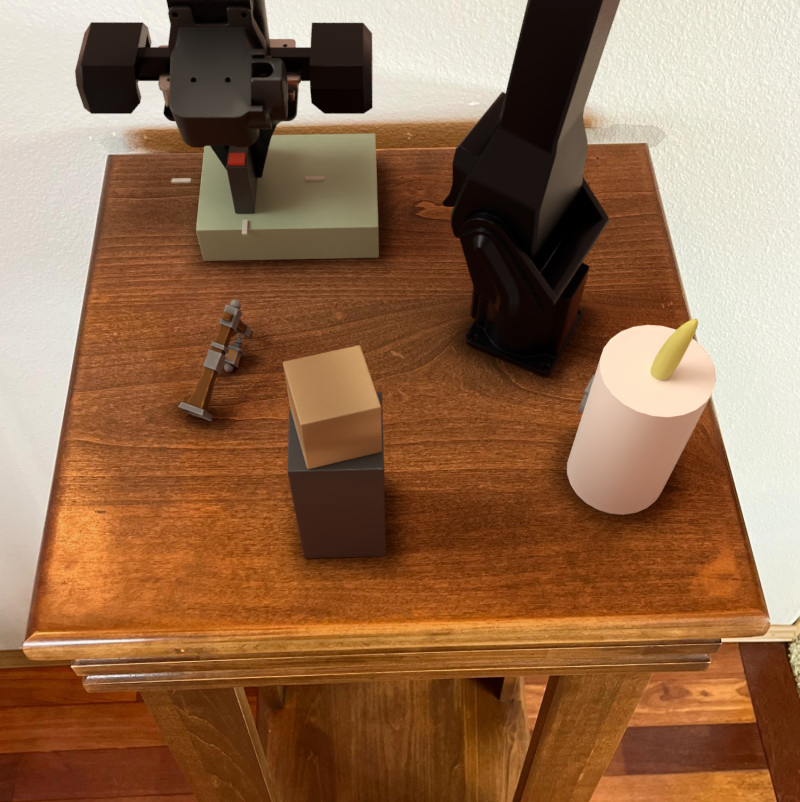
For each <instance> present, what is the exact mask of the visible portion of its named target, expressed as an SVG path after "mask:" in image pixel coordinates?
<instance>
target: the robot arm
mask: <svg viewBox="0 0 800 802" xmlns="http://www.w3.org/2000/svg"><path fill="white" fill-rule="evenodd" d="M620 3H621V0H527V1H526V6H525V10H524V14H523V19H522V23H521V26H520V27H521V28H520V31H519V35H518V40H517V44H516V48H515V52H514V56H513V61H512V65H511V69H510V73H509V77H508V82H507V85H506V90H505V92H504V91H501V92H500V94H499V95H498V96H497V97H496V99H495V100H494V101H493V102H492V104H491V105H489V107H488V109H486V111H485V112H484V113H483V114H482V116H481V117H480V118H479V120H478V121H477V122H476V123H475V124H474V125H473V127H472V128H471V129H470V130H469V132H468V133H467V134H466V136H465V137H464V138H462V140H461V142H460V143H459V144H458V145H457V146H456V147H455V151H454V155H453V160H452V179H451V180H452V182H451V188H450V190H449V193H448V195H447V196H446V197H445V198H444V200H443V201H442V203H441V204H442V206H443V207H444V208H452V209H451V212H450V227H451V231H452V234H453V236H454V238H456V239H459V241H460V245H461V249H462V253H463V254H464V259H465V263H466V266H467V269H468V274H469V276H470V280H471V283H472V294H471V303H470V312H469V315H470V317H471V319H473V320H474V322H473V324H472V325H471V326H470V328H469V330H468V331H467V333H466V334H465V336H464V343H465V344H466V345H467V346H469V347H471V348H473V349H476V350H479V351H481V352H483V353H486V354H487V355H491V356H493V357H495V358H498V359H500V360H501V361H504V362H506V363H509V364H511V365H515V366H517V367H518V368H519V367H520V368H522V369H524V370H527V371H529V372H532V373H534V374H536V375H539V376H541V377H548V376H550V375H551V374H552V373H553V371H554V369H555V367H556V366H557V364H558V362H559V360H560V358H561V357H562V355H563V353H564V351H565V350H566V348H567V346H568V345H569V342H570V341H571V339H572V337H573V335H574V334H575V332H576V330H577V329H578V327H579V325H580V324H581V322H582V319H583V316H584V310H583V309H581V308H580V305H581V302H582V298H583V294H584V291H585V287H586V283H587V279H588V275H589V271H590V268H591V267H590V265H589V264H587V263H585V262H584V261H585V259H586V257H588V255H589V253H590V251H591V250H592V248H593V247H594V246H595V244H596V242H597V241H598V239H599V238H600V236H601V235H602V233H603V232H604V230H605V229H606V227H607V226H608V224H609V222H610V217H609V216H608V214H607V212H606V210H605V209H604V207H603V206H602V204H601V203H600V200H598V198H597V196H596V194H594V191H593V190H592V189H591V187H590V185H589V183H588V182H587V180H586V179H585V177H584V173H585V167H586V159H587V154H588V153H587V152H588V146H589V142H588V137H587V132H586V126H585V120H584V113H585V107H586V105H587V101H588V98H589V95H590V93H591V90H592V86H593V83H594V80H595V77H596V74H597V71H598V69H599V65H600V62H601V59H602V57H603V54H604V51H605V47H606V44H607V41H608V38H609V36H610V32H611V29H612V26H613V23H614V20H615V18H616V14H617V11H618V8H619V6H620ZM166 5H167V10H168V12H167V15H168V20H169V24H170V27H169V28H170V29H169V35H168V43H167V45H165V44H163V45H159V46H152V44H153V43H152V42H153V41H152V40H151V35H150V29H149V27H148V26H147V25H146V24H145V23H144V22H143V21H141V22H139V21H137V22H133V21H132V22H131V21H130V22H128V21H127V22H123V21H122V22H120V21H110V22H108V21H107V22H106V21H105V22H103V21H102V22H97V21H95V22H94V21H92V22H90V23H89V25H88V26H87V28H86V30H85V31H84V33H83V37H82V41H81V46H80V49H79V53H78V58H77V62H76V66H75V69H74V75H75V76H74V77H75V85H76V89H77V91H78V94H79V98H80V101H81V104H82V106H83V109H85V110H86V111H87V112H88V113H90V114H91V115H98V114H99V115H103V114H104V115H109V114H110V115H111V114H112V115H131V114H132V113H134V111H135V110H136V109H137V107H138V106H139V105H141V101H142V94H141V91H140V86H139V82H158V88H159V91H161V92H162V96H163V99H164V107H163V115H164V117H165V118H166V119H167V120H168V121H170V122H175V124H176V127H177V130H178V132H179V134H180V137H181V138H182V141H183V143H185V145H187V146H189V147H191V148H197V149H199V148H203V149H204V147H205V146H211V148H212V150H213V151H214V153H215V154H216V156H217V157H218V158H219V160H220V161H221V163H222V164H223V166H224V167H225V169H226V166H227V158H228V149H229V146H234V147H237V148H243V147H248V146H251V145H252V144H253V164H254V169H255V174H256V178H262V174H263V170H264V166H265V161H266V157H267V153H268V148H269V144H270V140H271V138H272V135H274V132H275V130H276V128H277V126H278V125H279V124H280V123H282V122H291V121H293V120H295V119H296V117H297V115H298V105H299V93H300V91H299V89H300V84H301V83H302V82H309V88H310V89H309V90H310V102H311V104H312V105H313V106H314V107H315V108H317V110H319V111H320V112H321V113H323V114H325V115H345V114H346V115H350V114H351V115H352V114H353V115H358V114H359V115H361V114H362V115H364V114H366V113H367V112H369V111H371V110H372V109H373V76H374V75H373V73H374V71H373V69H374V68H373V67H374V66H373V63H374V62H373V59H374V57H373V55H374V54H373V33H372V31H371V30H370V29H369V28H368V27H367V25H366V24H365V23H364V22H311V29H310V30H311V32H310V47H309V46H308V47H307V46H306V47H304V46H303V47H301V46H300V47H298V46H297V43H296V39H294V38H270V32H269V24H268V17H267V8H266V0H166ZM226 170H227V169H226Z"/></svg>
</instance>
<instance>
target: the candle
mask: <svg viewBox="0 0 800 802" xmlns="http://www.w3.org/2000/svg"><path fill="white" fill-rule="evenodd" d="M698 325H699V319H698V318H692V319H690V320H688V321H686V322H684V323H683V324H682V325H680V326H679V327H678V328H677V329H676V328H672V327H668V326H664V325H655V324H653V325H652V324H645V325H637V326H636V325H635V326H632V327H629V328H627V329H623V330H621V331H619V332H618V333H617V334H615V335H614V336H613V337H611V338H610V339H609V341H607V343H606V345H604V347H603V349H602V352H601V355H600V357H599V361H598V364H597V367H596V370H595V374H593V375H592V376H591V378H590V381H589V382H588V384H587V385H586V387H585V389H584V390H583V397H582V399H581V402H580V404H579V406H578V410H577V412H578V413H579V414H582V415H581V418H580V421H579V424H578V427H577V430H576V434H575V437H574V439H573V443H572V446H571V450H570V453H569V456H568V459H567V462H566V475H567V478H568V481H569V484H570V486H571V488H572V489H573V491H574V493H575V494H576V496H577V497H579V498H580V499H581V500H582V501H583V502H584V503H585V504H587V505H589V506H590V507H592V508H594V509H596V510H598V511H599V512H603V513H607V514H610V515H612V514H613V515H623V516H624V515H629V514H636V513H639V512H641V511H643V510H645V509H648V508H649V507H650V506H651V505H653V504H654V503H655V502H656V501H657V500H658V498H659V497H660V495H661V494H662V492H663V490H664V488H665V487H666V484H667V482H668V480H669V479H670V476H671V474H672V473H673V471H674V469H675V467H676V465H677V464H678V461H679V459H680V458H681V455H682V453H683V451H684V450H685V447H687V446H686V445H687V443H688V442H689V440H690V438H691V436H692V434H693V432H694V430H695V428H696V426H697V424H698V422H699V420H700V418H701V417H702V414H703V412H704V410H705V408H706V407H707V405H708V404H709V403H708V402H709V401H710V400H711V397H712V395H713V393H714V390H715V387H716V383H717V373H716V367H715V364H714V362H713V360H712V358H711V356H710V354H709V353H708V352H707V350H706V349H705V347H704V346H702V344H700V342H698V341H697V340H695V338H694V336H695V334H696V332H697V330H698Z"/></svg>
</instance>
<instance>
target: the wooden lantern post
mask: <svg viewBox="0 0 800 802" xmlns="http://www.w3.org/2000/svg"><path fill="white" fill-rule="evenodd" d="M241 307H242V304H241V301H240V300H238V299H232V300H231V301H230V303H229V304H226V303H225V305H224V310H223V312H222V314H221V318H220V320H219V322H218V324H220V326H219V328H218V331H217V333H216V336H215V339H214V341H211V342H210V344H209V346H210V349H207V354H206V357H205V360H204V362H203V364H202V367H203V370H202V373H201V375H200V377H199V379H198V381H197V383H196V385H195V387H194V390H193V391H192V393H191V395H190V397H189V398H188V400H187V401H186V402H183V401H180V404H179V405H177V408H179V409H180V410H183V411H184V412H185V413H187V414H190V415H193V416H196V417H198V418H201V419H204V420H206V421H210V422H213V417H214V415H213V414H211V413H210V412H209V411H210V404H211V400H212V395H213V392H214V388H215V383H216V380H217V377H218V375H221V373H222V368H223V369H224V371H225V372H227V373H231V372H233V370H234V368H238V369H239V363H240V361H241V356H242V355H243V356H245V355H246V353H245V352H244V351H243V350H242V349H241V348H242V346H244V343H243V341H242V340H243V339H244V338H247V339H248V338H249V339H252V336H253V334H254V330H253V329H252V327H251V326H250V325H249V324H246V323H244V322H243V321H242V320H241V318H242V316H243V314H244V312H243V311H241V310H240V309H241ZM236 335H237V339H233V344H230V342H231V340H232V338H233V337H235V336H236ZM241 335H242V336H241Z"/></svg>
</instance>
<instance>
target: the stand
mask: <svg viewBox="0 0 800 802" xmlns="http://www.w3.org/2000/svg"><path fill="white" fill-rule="evenodd" d="M376 393H377V396H378V399H379V402H380V405H381V430H382V452H379V453H375V454H371V455H367V456H362V457H358V458H354V459H350V460H345V461H341V462H337V463H333V464H328V465H324V466H320V467H316V468H311V469H308V468H307V466H306V463H305V459H304V456H303V452H302V448H301V445H300V441H299V438H298V434H297V431H296V427H295V423H294V420H293V416H292V413H291V409H290V403H289V402H288V434H287V435H288V437H287V468H286V470H287V471H286V472H287V477H288V482H289V487H290V493H291V498H292V503H293V507H294V513H295V519H296V524H297V530H298V534H299V539H300V544H301V545H300V546H301V549H302V557H303V559H328V558H329V559H331V558H332V559H334V558H365V557H366V558H369V557H370V558H371V557H385V556H386V499H385V495H386V493H385V492H386V490H385V487H386V485H385V447H384V446H385V445H384V444H385V443H384V418H383V417H384V416H383V415H384V414H383V413H384V412H383V393H382V391H376Z"/></svg>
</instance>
